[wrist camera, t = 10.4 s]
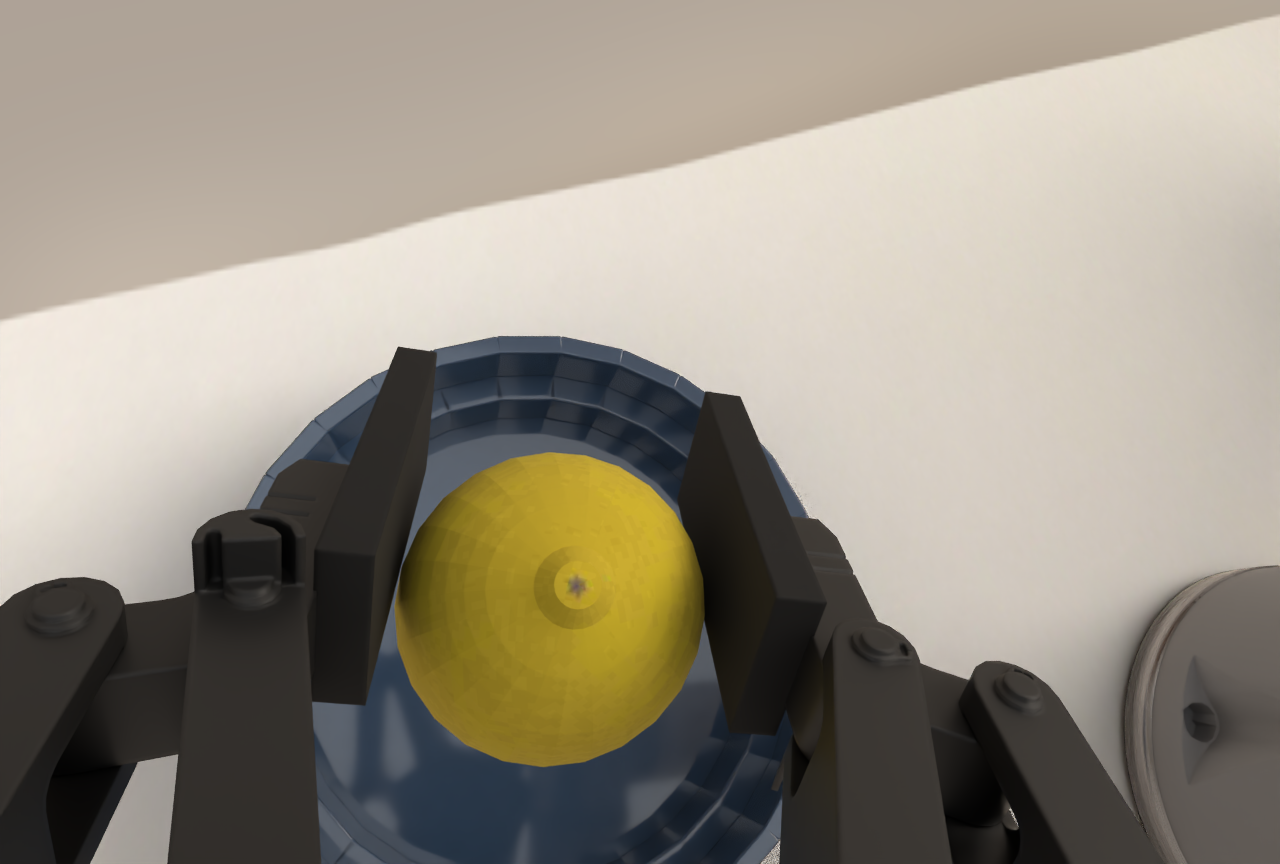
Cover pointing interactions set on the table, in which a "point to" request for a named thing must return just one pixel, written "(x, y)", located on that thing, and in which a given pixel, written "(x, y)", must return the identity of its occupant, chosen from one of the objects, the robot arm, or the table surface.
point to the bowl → (511, 792)
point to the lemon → (549, 609)
